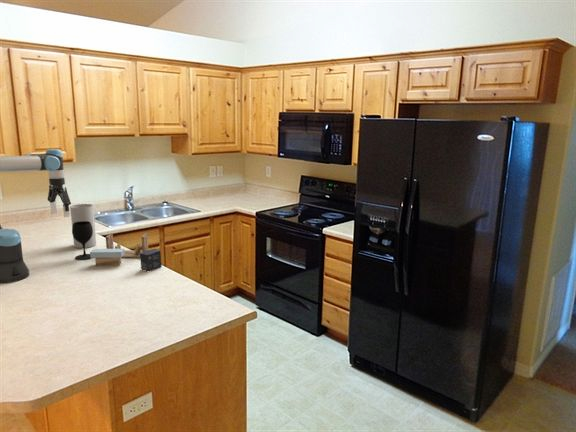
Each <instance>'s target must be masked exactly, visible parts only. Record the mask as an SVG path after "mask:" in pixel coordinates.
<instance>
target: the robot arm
mask: <svg viewBox="0 0 576 432" xmlns="http://www.w3.org/2000/svg"><path fill="white" fill-rule="evenodd" d="M63 158H64V156H63V152H62V150H61V149H57V148H52V149H51V148H50V149H46V151H45V153H28V154H24V155H0V173H15V172H17V173H18V172H37V171H38V172H39V171H48V172H47V173H48V183H49V185H48V195H47V201H48V202H49V203H50V213H51V215H54V214H57V201H56V199H57V197H59V198H60V200H61V202H62V204H63V205H62V209H63V217H64V218H69V217H70V218H71V214H70V206H71V204H72V202H71V199H70V196H69V193H68V190H67V187H65V186H64V185H65V184H66V180H65V171H64V159H63ZM69 205H70V206H69ZM23 254H24V253H23V247H22V237H21V234H20V231H18V230H16V229H13V228H3V227H2V226H1V224H0V283H1V284H2V283H3V284H4V283H5V284H6V283H14V282H18V281H21V280H24V279H26V278H28V277H29V276H30V270H29V268H28V266H27V265H26V262H25V261H24V256H23Z"/></svg>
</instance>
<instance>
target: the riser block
mask: <svg viewBox="0 0 576 432" xmlns="http://www.w3.org/2000/svg"><path fill="white" fill-rule="evenodd" d="M94 259H95V260H94V261H95V266H96V267H115V266H117V265H119V266H120V265H121V264H122V259H121V257H111V258H94ZM117 267H118V266H117Z"/></svg>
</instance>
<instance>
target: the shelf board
mask: <svg viewBox="0 0 576 432" xmlns="http://www.w3.org/2000/svg"><path fill="white" fill-rule="evenodd" d="M89 254H90V258H92V259H95V258H111V257H123V255H124V254H125V248H121V249H115V248H114V249H107V248H93V249H92V250H91V251H89Z"/></svg>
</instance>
